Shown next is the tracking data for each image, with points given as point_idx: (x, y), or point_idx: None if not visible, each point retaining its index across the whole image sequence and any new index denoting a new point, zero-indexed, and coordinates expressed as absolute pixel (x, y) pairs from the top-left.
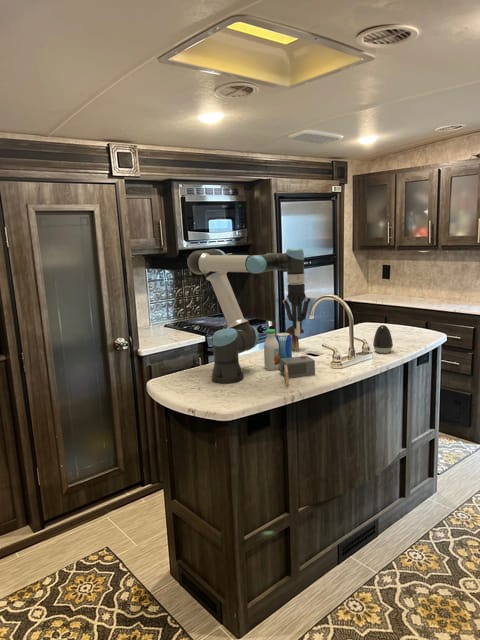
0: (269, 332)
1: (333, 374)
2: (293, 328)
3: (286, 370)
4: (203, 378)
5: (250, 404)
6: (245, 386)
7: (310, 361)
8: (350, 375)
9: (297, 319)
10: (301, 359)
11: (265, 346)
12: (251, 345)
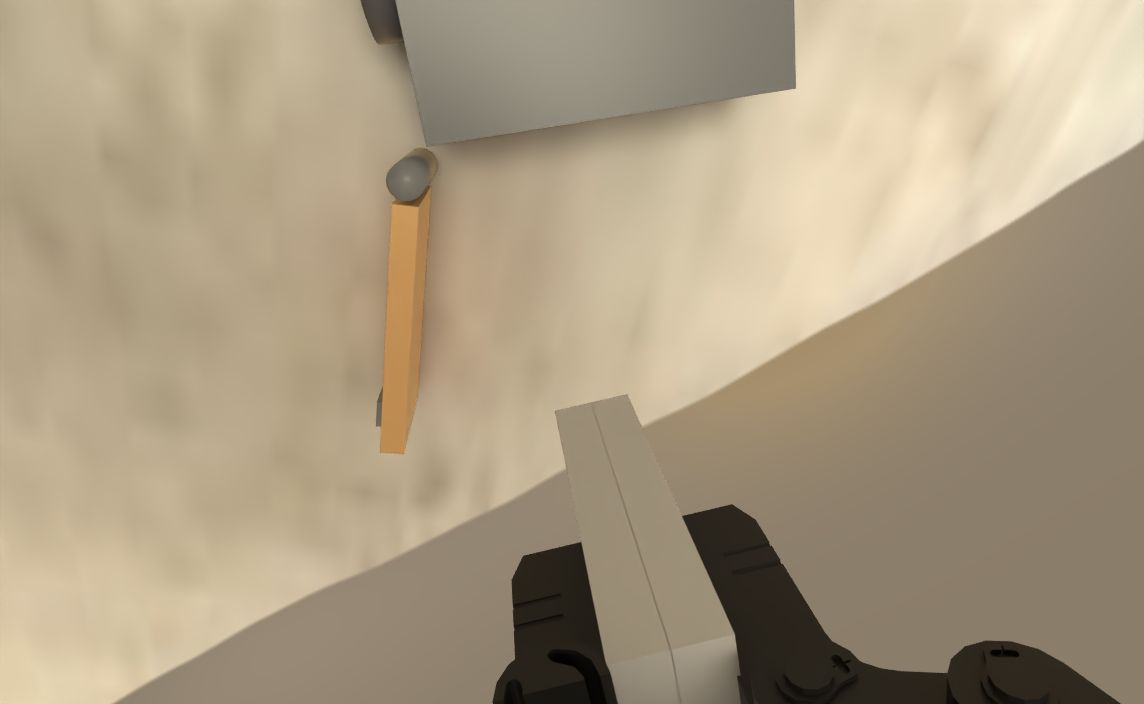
0: None
1: (897, 124)
2: (526, 574)
3: (393, 405)
4: None
5: (114, 671)
6: (5, 292)
7: (738, 97)
8: (1014, 194)
9: (754, 691)
10: None
11: None
12: None
